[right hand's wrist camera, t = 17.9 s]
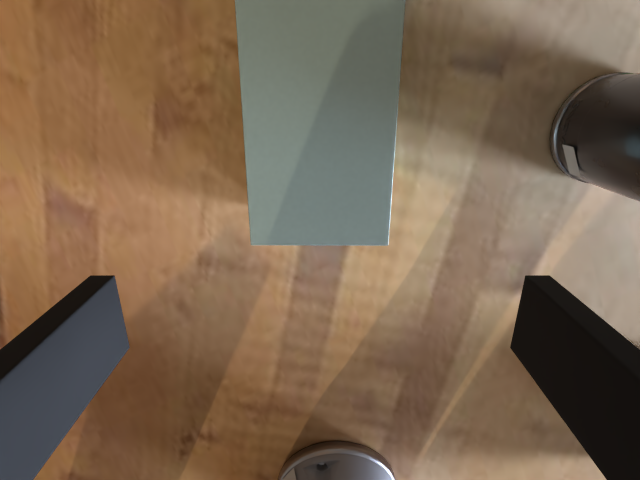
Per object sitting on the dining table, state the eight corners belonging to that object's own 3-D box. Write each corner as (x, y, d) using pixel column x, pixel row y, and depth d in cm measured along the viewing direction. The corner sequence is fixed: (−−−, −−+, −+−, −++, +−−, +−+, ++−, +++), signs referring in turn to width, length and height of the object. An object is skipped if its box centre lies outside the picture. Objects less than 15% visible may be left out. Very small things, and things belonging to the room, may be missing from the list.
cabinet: (254, -50, 31) (228, -104, 22) (386, -49, 31) (412, -103, 22) (266, 209, 38) (250, 245, 29) (372, 209, 38) (388, 245, 29)
